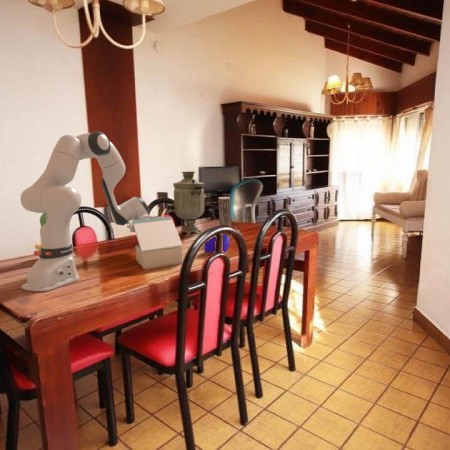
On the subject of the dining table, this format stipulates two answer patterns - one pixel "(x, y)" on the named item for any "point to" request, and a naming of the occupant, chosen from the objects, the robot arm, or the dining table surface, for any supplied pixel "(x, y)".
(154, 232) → the lid
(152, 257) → the box
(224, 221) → the paper tube
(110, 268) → the dining table surface
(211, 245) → the bracket
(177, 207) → the samovar
